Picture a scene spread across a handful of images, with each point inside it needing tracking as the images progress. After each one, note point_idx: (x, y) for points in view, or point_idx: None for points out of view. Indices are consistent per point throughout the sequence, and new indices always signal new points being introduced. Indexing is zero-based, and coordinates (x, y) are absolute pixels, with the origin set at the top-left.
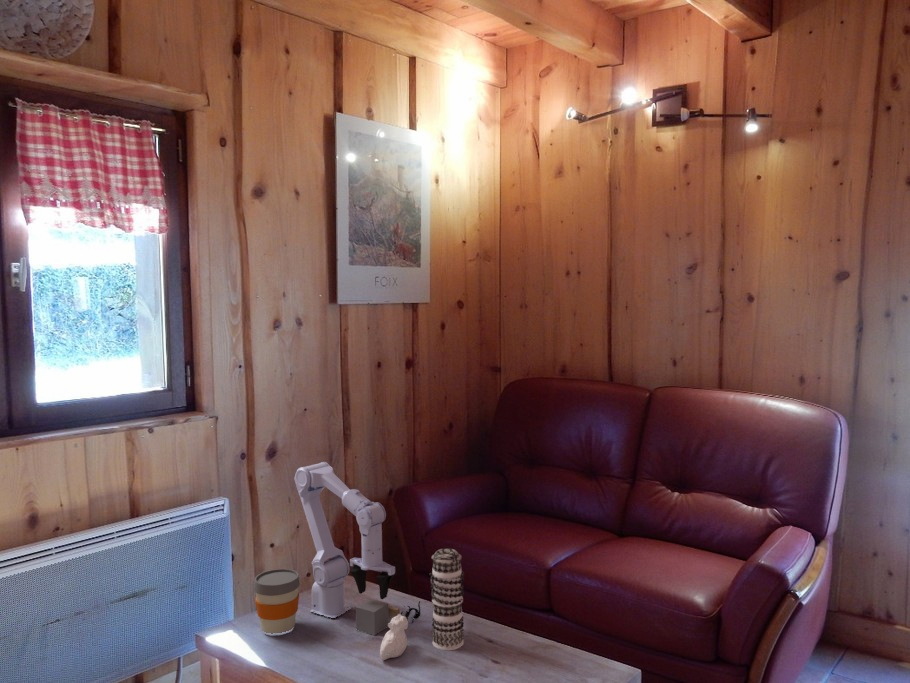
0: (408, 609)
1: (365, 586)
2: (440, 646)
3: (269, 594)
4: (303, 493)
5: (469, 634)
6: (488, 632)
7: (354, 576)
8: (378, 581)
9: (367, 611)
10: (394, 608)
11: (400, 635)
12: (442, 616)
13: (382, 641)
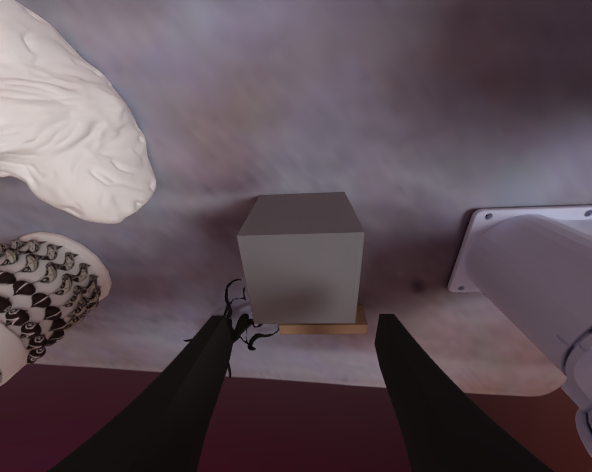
0: (238, 337)
1: (382, 372)
2: (38, 239)
3: None
4: None
5: None
6: (61, 342)
7: (512, 459)
8: (123, 466)
9: (282, 231)
10: (293, 329)
11: None
12: None
13: (73, 90)
